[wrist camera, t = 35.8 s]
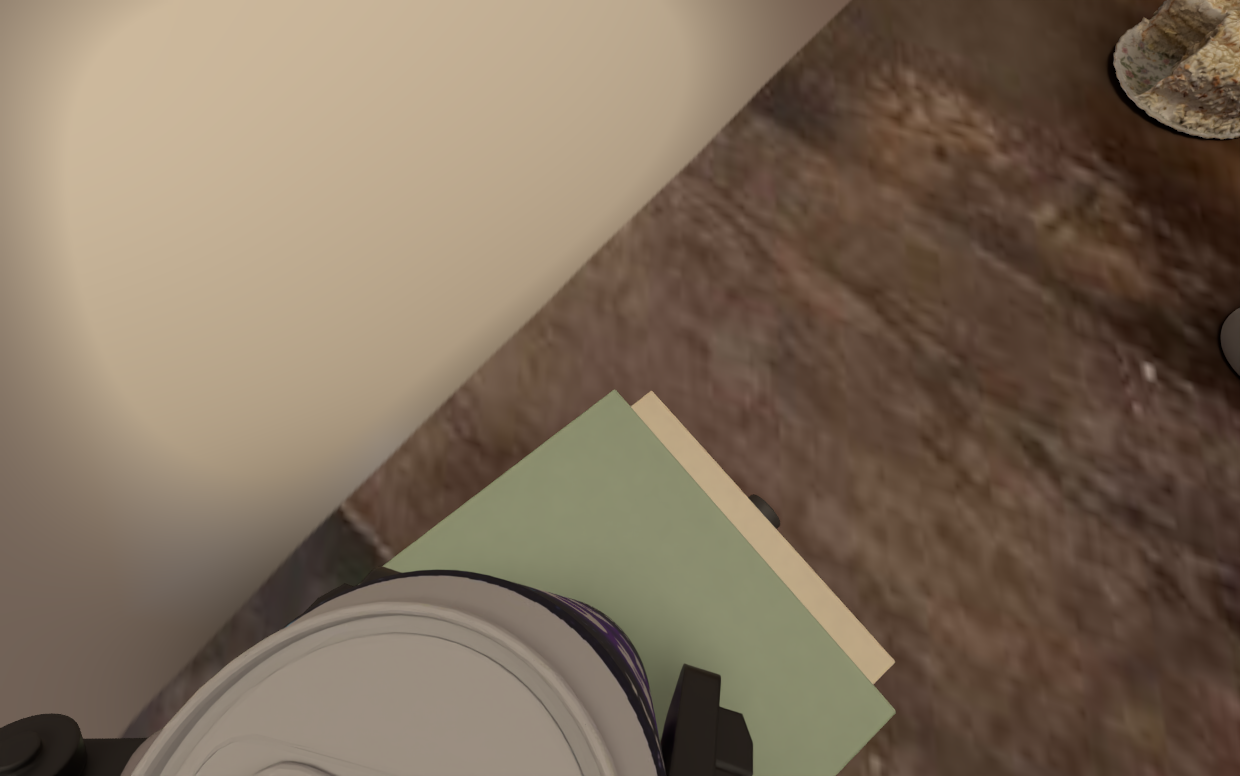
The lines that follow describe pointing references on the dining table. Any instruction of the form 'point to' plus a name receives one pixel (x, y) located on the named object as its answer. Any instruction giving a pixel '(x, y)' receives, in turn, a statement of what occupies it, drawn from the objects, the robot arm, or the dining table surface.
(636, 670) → the beverage can
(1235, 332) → the spray bottle
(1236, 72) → the cake
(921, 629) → the dining table surface
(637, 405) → the drawer
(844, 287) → the dining table surface
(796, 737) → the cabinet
